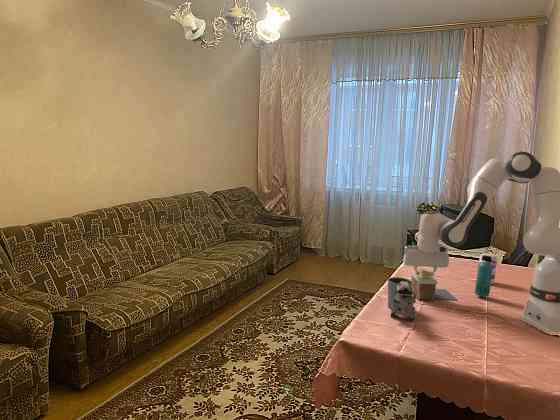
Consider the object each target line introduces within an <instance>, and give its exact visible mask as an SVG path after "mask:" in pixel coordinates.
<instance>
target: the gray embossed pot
mask: <svg viewBox="0 0 560 420" xmlns="http://www.w3.org/2000/svg"><path fill="white" fill-rule="evenodd" d="M411 280H412V279H408V278H405V277H400V276H399V277H398V276H394V277H389V278H387V307H388V309H389V310H392V309H391V305H392V304H393V303H394V302H393V299H394V297H395V296H396V291H397V286H398V285H399V283H400V282H401V281H405V282H408V283H409V284H410V286H411V287H412V283H413V282H412V281H411Z"/></svg>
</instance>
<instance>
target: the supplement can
mask: <svg viewBox="0 0 560 420" xmlns="http://www.w3.org/2000/svg"><path fill="white" fill-rule="evenodd" d="M483 255H487V256H491V261H490V262H489V261H483V260H482V256H483ZM497 257H498V256H497V255H496V254H493V253H490V252H483V253H482V252H481V254H480V255H479V259H478V264H479V263H481V262H488V263H491V264H492V266H493V269H492V277H491V284H492V285H493V284H494V283H495V280H496V279H495V278H496V270H497V263H498V258H497ZM491 284H490V286H492V285H491Z"/></svg>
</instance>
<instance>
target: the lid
mask: <svg viewBox="0 0 560 420" xmlns="http://www.w3.org/2000/svg"><path fill="white" fill-rule="evenodd" d="M418 271H419V276H418V275H415V271H413V272H410V276H411V277H412V276H413V277H414V278H415V279H416V280H417V281H418V282H419V283H420V284H436V285H438V284H439V283H438V281H437V279H435V278H434V276H430V273H429V272H430V271H428V270H427V269H426V268H423V267H419V268H418Z"/></svg>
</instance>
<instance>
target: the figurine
mask: <svg viewBox="0 0 560 420" xmlns="http://www.w3.org/2000/svg"><path fill="white" fill-rule="evenodd" d="M413 294H414V292H413V289H412V287H411V286H410V284H409V283H408V282H405V281H401V282H400V283H399V285H398V286H397V291H396V296H395V297H394V299H393V302H394V303H393V304H392V305H391V309H390V310H391V313H390V317H391V318H394V317H395V315H398V316H403V317H409V316H410V318H409V322H412V323H413V322H414V320H415V319H416V307H414V305H415V303H416V301H417V298H416V295H415V294H414V295H413Z"/></svg>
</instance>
